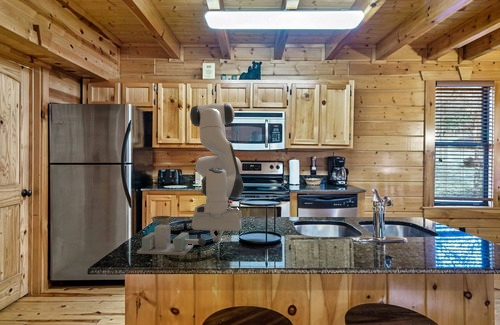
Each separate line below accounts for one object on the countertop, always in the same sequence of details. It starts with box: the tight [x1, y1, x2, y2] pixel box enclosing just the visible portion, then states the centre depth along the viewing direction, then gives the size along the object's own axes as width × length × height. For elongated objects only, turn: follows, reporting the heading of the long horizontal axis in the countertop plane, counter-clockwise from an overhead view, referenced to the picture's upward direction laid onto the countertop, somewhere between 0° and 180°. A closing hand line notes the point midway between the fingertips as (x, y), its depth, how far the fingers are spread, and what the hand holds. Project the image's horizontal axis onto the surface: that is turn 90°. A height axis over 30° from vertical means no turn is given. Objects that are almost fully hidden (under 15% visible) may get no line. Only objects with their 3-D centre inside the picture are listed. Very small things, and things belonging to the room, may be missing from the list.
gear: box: [143, 221, 163, 237], centre depth 155 cm, size 11×6×10 cm
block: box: [155, 224, 172, 249], centre depth 136 cm, size 5×5×9 cm
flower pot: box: [151, 215, 171, 226], centre depth 162 cm, size 9×9×9 cm
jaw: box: [172, 232, 207, 251], centre depth 135 cm, size 12×10×5 cm
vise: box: [136, 232, 194, 256], centre depth 136 cm, size 20×12×6 cm, turn 84°
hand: (216, 241), depth 133 cm, fingers closed
